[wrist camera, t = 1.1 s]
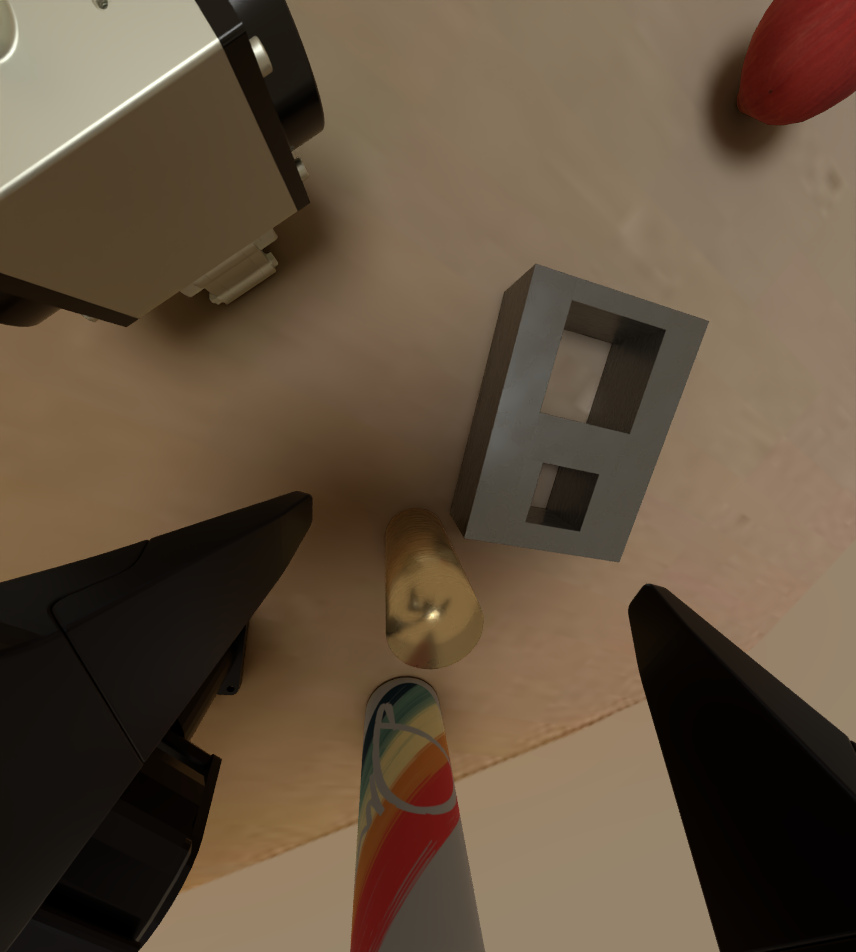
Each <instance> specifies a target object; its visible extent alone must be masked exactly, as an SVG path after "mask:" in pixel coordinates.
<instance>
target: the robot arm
mask: <svg viewBox="0 0 856 952" xmlns="http://www.w3.org/2000/svg"><path fill="white" fill-rule="evenodd" d="M312 501H313V500H312V496H311V495H310V494H308V493H304V492H300V491H294V492H291V493H288V494H285V495H282V496H279V497H276V498H273V499H270V500H267V501H264V502H261V503H258V504H255V505H252V506H249V507H245V508H242V509H239V510H236V511H233V512H230V513H227V514H224V515H221V516H218V517H215V518H212V519H209V520H206V521H203V522H199V523H196V524H193V525H190V526H187V527H184V528H181V529H178V530H175V531H172V532H169V533H166V534H163V535H160V536H157V537H154V538H151V539H150V540H144V541H141V542H138V543H135V544H132V545H129V546H126V547H123V548H119V549H116V550H113V551H110V552H107V553H103V554H100V555H97V556H94V557H90V558H87V559H83V560H80V561H76V562H73V563H69V564H66V565H62V566H59V567H55V568H52V569H48V570H44V571H41V572H37V573H33V574H30V575H26V576H22V577H19V578H15V579H11V580H8V581H4V582H0V952H138V951H139V950H140V949H141V948H142V946H143V945H144V944H145V943H146V942H147V940H148V939H149V938H150V936H151V935H152V934H153V932H154V931H155V930H156V928H157V927H158V925H159V924H160V922H161V921H162V919H163V918H164V916H165V915H166V913H167V912H168V910H169V909H170V907H171V905H172V904H173V902H174V900H175V898H176V897H177V895H178V893H179V891H180V890H181V888H182V886H183V884H184V882H185V880H186V878H187V876H188V874H189V872H190V870H191V868H192V866H193V863H194V861H195V858H196V856H197V854H198V851H199V848H200V845H201V841H202V838H203V834H204V830H205V826H206V822H207V818H208V814H209V810H210V806H211V802H212V798H213V793H214V789H215V785H216V781H217V777H218V773H219V769H220V765H221V761H222V759H221V758H219V757H217V756H216V755H214V754H212V755H210V754H208V753H207V752H205V751H203V750H202V749H200V748H199V747H197V746H196V745H194V744H193V743H191V742H189V741H190V740H191V738H192V736H193V734H194V733H195V731H196V729H197V727H198V726H199V724H200V722H201V720H202V719H203V717H204V715H205V713H206V712H207V710H208V708H209V706H210V705H211V703H212V701H213V699H214V698H215V696H216V694H219V695H234V694H236V693H237V692H238V690H239V688H240V686H241V680H242V672H243V663H244V655H245V647H246V638H247V630H248V622H249V619H250V618H251V616H252V615H253V614H254V612H255V611H256V610H257V608H258V607H259V606H260V604H261V603H262V601H263V600H264V599H265V597H266V596H267V595H268V593H269V592H270V590H271V589H272V588H273V586H274V585H275V584H276V582H277V581H278V580H279V578H280V577H281V575H282V574H283V572H284V571H285V569H286V567H287V566H288V564H289V562H290V561H291V559H292V557H293V555H294V554H295V552H296V550H297V548H298V547H299V545H300V543H301V541H302V540H303V538H304V536H305V534H306V533H307V531H308V529H309V527H310V525H311V523H312ZM628 615H629V621H630V626H631V631H632V637H633V642H634V648H635V653H636V659H637V664H638V669H639V673H640V677H641V681H642V685H643V688H644V692H645V695H646V698H647V702H648V705H649V709H650V712H651V716H652V719H653V723H654V726H655V730H656V733H657V736H658V740H659V743H660V747H661V750H662V754H663V757H664V761H665V764H666V768H667V771H668V774H669V778H670V781H671V785H672V788H673V792H674V795H675V799H676V802H677V806H678V809H679V812H680V816H681V819H682V823H683V826H684V829H685V833H686V836H687V840H688V844H689V847H690V850H691V853H692V857H693V861H694V864H695V868H696V871H697V875H698V878H699V882H700V885H701V888H702V892H703V895H704V898H705V902H706V906H707V909H708V912H709V916H710V919H711V923H712V926H713V930H714V933H715V937H716V940H717V944H718V947H719V950H720V952H856V743H855V742H853V741H850V740H849V738H848V737H847V736H846V735H845V734H844V733H843V732H842V731H840V730H839V729H838V728H837V727H835V726H834V725H833V724H832V723H831V722H829V721H828V720H827V719H826V718H824V717H823V716H822V715H821V714H819V713H818V712H817V711H816V710H814V709H813V708H812V707H811V706H810V705H808V704H807V703H806V702H805V701H804V700H802V699H801V698H800V697H799V696H797V695H796V694H795V693H794V692H793V691H791V690H790V689H789V688H788V687H786V686H785V685H784V684H783V683H781V682H780V681H779V680H778V679H777V678H775V677H774V676H773V675H772V674H770V673H769V672H768V671H767V670H766V669H764V668H763V667H762V666H761V665H759V664H758V663H757V662H755V661H754V660H753V659H752V658H751V657H750V656H748V655H747V654H746V653H745V652H743V651H742V650H741V649H740V648H739V647H737V646H736V645H735V644H734V643H732V642H731V641H730V640H729V639H728V638H726V637H725V636H724V635H723V634H721V633H720V632H719V631H718V630H716V629H715V628H714V627H713V626H712V625H710V624H709V623H708V622H707V621H705V620H704V619H703V618H702V617H701V616H699V615H698V614H697V613H696V612H694V611H693V610H692V609H691V608H690V607H688V606H687V605H686V604H685V603H683V602H682V601H681V600H680V599H678V598H677V597H676V596H675V595H674V594H672V593H671V592H670V591H669V590H667V589H666V588H664V587H661V586H657V585H653V584H645V585H644V586H643V587H642V588H641V589H640V591H639V592H638V593H637V595H636V596H635V597H634V599H633V600H632V601H631V603H630V605H629V608H628ZM231 686H233V687H231Z"/></svg>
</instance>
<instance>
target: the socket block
mask: <svg viewBox="0 0 856 952" xmlns="http://www.w3.org/2000/svg"><path fill="white" fill-rule="evenodd" d="M708 323H709V321H707V320H704V319H701V318H698V317H695V316H692V315H689V314H686V313H683V312H680V311H677V310H674V309H671V308H668V307H665V306H662V305H659V304H656V303H653V302H650V301H647V300H644V299H641V298H638V297H635V296H632V295H629V294H626V293H623V292H620V291H617V290H614V289H611V288H608V287H605V286H602V285H599V284H596V283H593V282H590V281H586V280H583V279H580V278H577V277H574V276H571V275H568V274H565V273H562V272H559V271H556V270H553V269H550V268H547V267H544V266H541V265H538V264H535V265H534V266H533V267H532V268H531V269H529V270H528V271H527V272H526V273H525V274H524V275H523V276H522V277H521V278H519V279H518V280H517V281H516V282H515V283H514V284H513V285H512V286H511V287H509V288H508V289H507V290H506V291H505V292H504V296H503V300H502V304H501V308H500V312H499V316H498V320H497V324H496V329H495V333H494V337H493V341H492V345H491V349H490V353H489V357H488V361H487V365H486V369H485V373H484V377H483V381H482V385H481V389H480V393H479V397H478V402H477V406H476V410H475V414H474V418H473V422H472V426H471V430H470V434H469V438H468V442H467V446H466V450H465V454H464V458H463V462H462V466H461V470H460V475H459V479H458V483H457V487H456V491H455V495H454V499H453V503H452V507H451V511H450V514H451V516H452V518H453V520H454V521H455V523H456V525H457V527H458V528H459V530H460V532H461V533H462V535H463V537H464V538H466V539H472V540H479V541H485V542H492V543H498V544H505V545H511V546H517V547H524V548H530V549H537V550H543V551H550V552H556V553H562V554H569V555H575V556H582V557H588V558H595V559H601V560H607V561H614V562H620V559H621V556H622V554H623V551H624V548H625V546H626V543H627V540H628V537H629V535H630V532H631V529H632V527H633V524H634V521H635V519H636V516H637V513H638V511H639V508H640V505H641V503H642V500H643V497H644V495H645V492H646V489H647V486H648V484H649V481H650V478H651V476H652V473H653V470H654V468H655V465H656V462H657V460H658V457H659V454H660V452H661V449H662V446H663V444H664V441H665V438H666V435H667V433H668V430H669V427H670V425H671V422H672V419H673V417H674V414H675V411H676V409H677V406H678V403H679V401H680V398H681V395H682V393H683V390H684V387H685V384H686V382H687V379H688V376H689V374H690V371H691V368H692V366H693V363H694V360H695V358H696V355H697V352H698V350H699V347H700V344H701V342H702V339H703V336H704V333H705V331H706V328H707V325H708ZM563 329H566V330H570V331H573V332H576V333H580V334H583V335H587V336H590V337H593V338H597V339H600V340H603V341H607V342H610V343H612V347H611V350H610V353H609V356H608V359H607V362H606V365H605V368H604V372H603V375H602V378H601V381H600V384H599V387H598V390H597V394H596V397H595V400H594V403H593V406H592V409H591V412H590V415H589V419H588V422H587V424H585V423H581V422H577V421H573V420H568V419H564V418H560V417H556V416H552V415H548V414H543V413H540V409H541V406H542V402H543V399H544V396H545V392H546V389H547V385H548V382H549V378H550V375H551V371H552V368H553V364H554V361H555V357H556V354H557V350H558V347H559V343H560V340H561V336H562V333H563ZM543 463H548V464H553V465H557V466H559V469H558V473H557V476H556V479H555V482H554V486H553V489H552V492H551V495H550V498H549V502H548V505H547V508H546V509H543V508H538V507H532V506H530V505H531V501H532V498H533V495H534V491H535V488H536V485H537V481H538V478H539V475H540V471H541V468H542V465H543Z"/></svg>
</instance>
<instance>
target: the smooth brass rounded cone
mask: <svg viewBox="0 0 856 952" xmlns="http://www.w3.org/2000/svg"><path fill="white" fill-rule="evenodd" d="M385 569H386V637H387V642H388V645H389V647H390V649H391V650H392V652H393V653H394V654H395V655H396V656H397V657H398V658H399V659H400V660H401V661H403V662H404V663H406V664H408V665H410V666H413V667H416V668H422V669H438V668H442V667H446V666H449V665H452V664H454V663H456V662H458V661H459V660H461V659H462V658H464V657H465V656H466V655H467V654H469V653H470V652H471V650H472V649H473V648H474V647H475V645H476V644H477V642H478V640H479V639H480V636H481V633H482V630H483V614H482V610H481V608H480V605H479V603H478V601H477V599H476V597H475V594H474V592H473V590H472V588H471V586H470V584H469V581H468V579H467V577H466V575H465V573H464V571H463V569H462V566H461V564H460V562H459V560H458V558H457V556H456V553H455V551H454V549H453V547H452V545H451V543H450V541H449V538H448V536H447V534H446V532H445V530H444V528H443V525H442V523H441V522H440V520H439V519H438V517H437V516H436V515H435V514H433V513H432V512H430V511H428V510H425V509H421V508H411V509H407V510H404V511H402V512H400V513H398V514H397V515H396V516H394V517H393V518H392V520H391V521H390V522H389V524H388V526H387V529H386V533H385Z"/></svg>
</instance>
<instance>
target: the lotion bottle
mask: <svg viewBox="0 0 856 952" xmlns="http://www.w3.org/2000/svg"><path fill="white" fill-rule="evenodd" d="M350 952H485V949H484V944H483V939H482V933H481V928H480V922H479V917H478V911H477V906H476V900H475V895H474V889H473V884H472V878H471V873H470V867H469V862H468V856H467V851H466V845H465V840H464V834H463V829H462V824H461V818H460V813H459V807H458V802H457V796H456V791H455V785H454V780H453V774H452V769H451V763H450V758H449V752H448V747H447V741H446V736H445V731H444V725H443V720H442V715H441V710H440V705H439V701H438V698H437V695H436V693H435V691H434V690H433V688H432V687H431V686H430V685H428V684H427V683H425V682H424V681H422V680H419V679H416V678H407V677H405V678H398V679H394V680H391V681H388V682H386V683H385V684H383V685H381V686H380V687H379V688H378V689H377V690H376V691H375V692H374V693H373V694H372V696H371V697H370V699H369V701H368V704H367V708H366V714H365V723H364V738H363V753H362V770H361V786H360V802H359V819H358V835H357V852H356V869H355V884H354V900H353V917H352V933H351V949H350Z"/></svg>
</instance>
